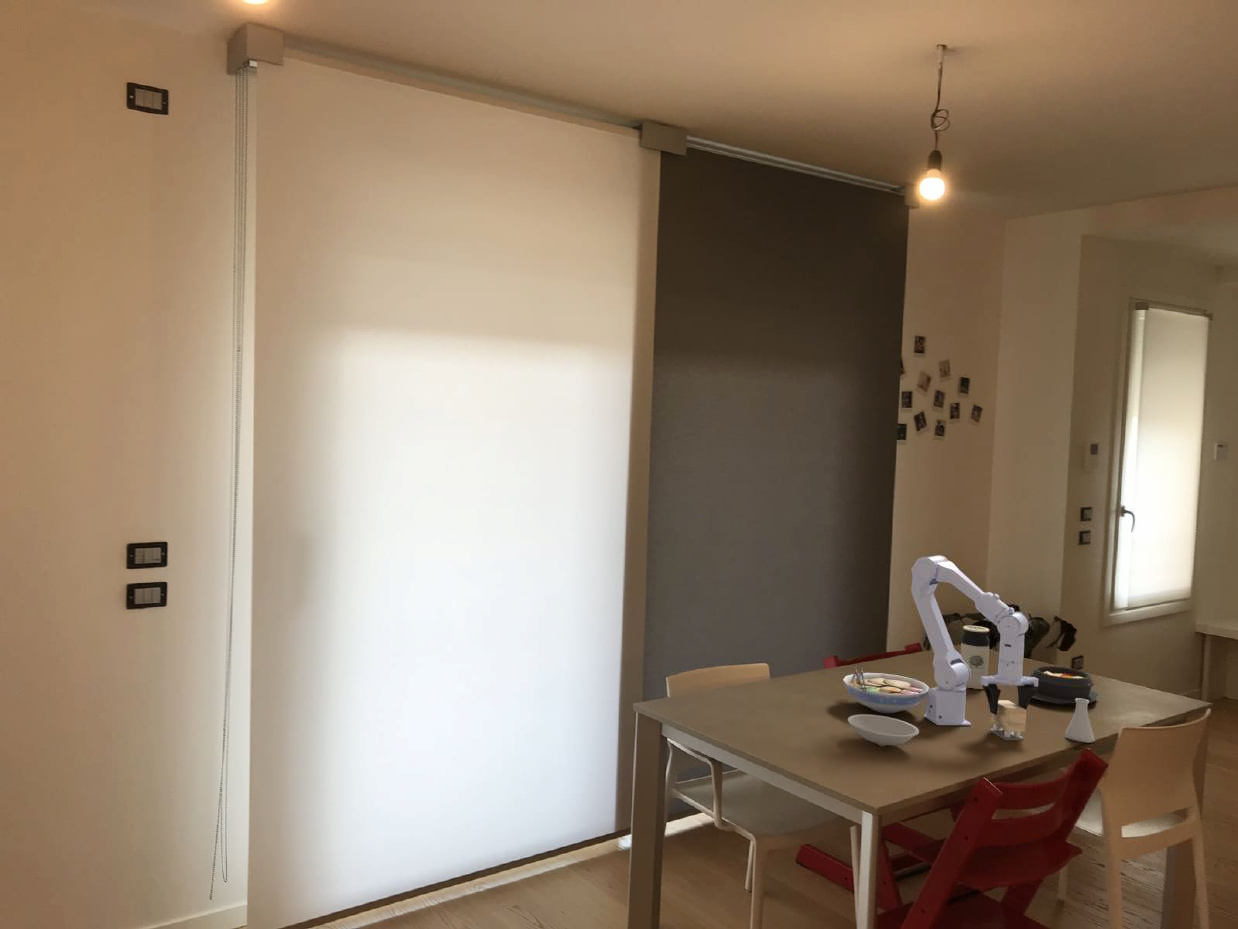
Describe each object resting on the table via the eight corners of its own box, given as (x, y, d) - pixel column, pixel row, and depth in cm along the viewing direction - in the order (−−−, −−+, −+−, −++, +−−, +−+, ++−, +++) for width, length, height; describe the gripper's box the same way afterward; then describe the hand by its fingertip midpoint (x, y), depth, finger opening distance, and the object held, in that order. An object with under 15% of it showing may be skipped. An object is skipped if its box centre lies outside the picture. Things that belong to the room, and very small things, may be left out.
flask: (1068, 732, 246) (1070, 694, 246) (1098, 739, 242) (1101, 700, 241) (1060, 738, 241) (1063, 699, 240) (1091, 745, 236) (1094, 705, 236)
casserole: (1068, 714, 263) (1070, 684, 263) (1007, 697, 278) (1009, 669, 278) (1113, 702, 278) (1115, 674, 278) (1053, 687, 293) (1054, 660, 293)
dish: (833, 740, 231) (834, 720, 231) (868, 730, 240) (869, 711, 240) (896, 761, 218) (897, 740, 218) (930, 750, 227) (931, 729, 227)
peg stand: (1005, 740, 237) (1005, 730, 237) (989, 730, 245) (990, 721, 244) (1023, 740, 238) (1024, 730, 238) (1007, 730, 245) (1008, 721, 245)
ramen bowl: (933, 727, 245) (935, 696, 245) (843, 718, 250) (844, 688, 249) (922, 701, 269) (924, 673, 269) (840, 694, 274) (841, 666, 274)
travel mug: (960, 681, 295) (963, 624, 294) (987, 685, 291) (991, 627, 291) (957, 687, 287) (960, 628, 287) (985, 691, 284) (989, 632, 283)
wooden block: (991, 721, 245) (992, 700, 245) (1007, 721, 245) (1008, 700, 245) (1008, 731, 236) (1009, 710, 236) (1025, 731, 237) (1026, 710, 237)
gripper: (992, 664, 236) (988, 718, 236) (1046, 665, 238) (1043, 718, 238) (977, 657, 243) (974, 709, 243) (1030, 658, 245) (1027, 710, 245)
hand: (1007, 713), depth 241 cm, fingers open, 7 cm apart
